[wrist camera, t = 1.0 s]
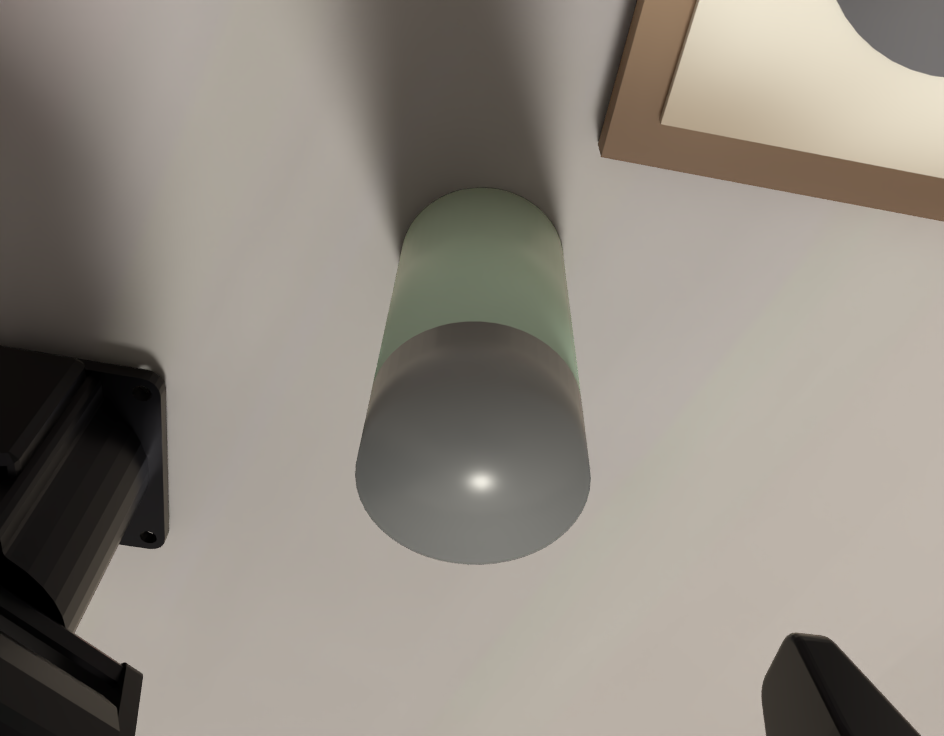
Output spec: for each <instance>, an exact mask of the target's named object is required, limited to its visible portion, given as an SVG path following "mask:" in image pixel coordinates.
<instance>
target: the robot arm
mask: <svg viewBox="0 0 944 736" xmlns="http://www.w3.org/2000/svg"><path fill="white" fill-rule="evenodd" d="M138 386H144V387H147V388H148V389H149V390H150V392H145V391H142V390H141V389H140V388H139V387H138ZM148 531H149V532H152V533H153V534H152V533H149V532H148ZM168 533H169V505H168V464H167V424H166V387H165V384H164V381H163V380H162V379H161V377H160V376H159V375H157V374H156V373H154V372H152V371H148V370H144V369H138V368H132V367H126V366H120V365H114V364H107V363H101V362H95V361H89V360H83V359H77V358H72V357H66V356H59V355H53V354H47V353H41V352H35V351H29V350H23V349H16V348H10V347H4V346H0V736H135V731H136V724H137V716H138V709H139V702H140V695H141V687H142V680H143V674H142V673H140V672H139V671H137V670H136V669H134V668H133V667H131V666H130V665H128V664H127V663H122V664H120V663H118V662H117V661H115V660H114V659H112V658H111V657H109V656H108V655H106V654H105V653H103V652H102V651H100V650H99V649H97V648H96V647H94V646H93V645H91V644H90V643H88V642H87V641H85V640H84V639H82V638H81V637H79V636H78V635H76V634H75V631H76V629H77V627H78V625H79V623H80V621H81V619H82V617H83V615H84V613H85V611H86V609H87V607H88V605H89V603H90V601H91V599H92V597H93V595H94V593H95V591H96V589H97V587H98V585H99V583H100V581H101V579H102V577H103V575H104V573H105V571H106V569H107V567H108V565H109V563H110V561H111V559H112V557H113V555H114V553H115V551H116V549H117V547H118V545H119V544H120V545H127V546H134V547H141V548H147V549H156V548H159V547H161V546H162V545H163V544H164V542H165V540H166V538H167V536H168ZM762 707H763V715H764V723H765V730H766V736H921V735H920V734H919V733H918V732H917V731H916V730H915V729H914V728H913V726H912V725H911V724H910V723H909V722H908V721H907V720H906V719H905V718H904V717H903V716H902V715H901V714H900V712H899V711H898V710H897V709H896V708H895V707H894V706H893V705H892V704H891V703H890V702H889V701H888V700H887V698H886V697H885V696H884V695H883V694H882V693H881V692H880V691H879V690H878V689H877V688H876V687H875V686H874V684H873V683H872V682H871V681H870V680H869V679H868V678H867V677H866V676H865V675H864V674H863V673H862V672H861V670H860V669H859V668H858V667H857V666H856V665H855V664H854V663H853V662H852V661H851V660H850V659H849V658H848V656H847V655H846V654H845V653H844V652H843V651H842V650H841V649H840V648H839V647H838V646H837V645H836V644H835V643H834V642H833V641H832V640H831V639H829V638H827V637H825V636H821V635H813V634H803V633H791V634H789V635H788V636H787V637H786V638H785V639H784V641H783V642H782V644H781V646H780V648H779V650H778V652H777V654H776V656H775V658H774V660H773V662H772V664H771V666H770V668H769V670H768V672H767V673H766V675H765V678H764V681H763V685H762Z"/></svg>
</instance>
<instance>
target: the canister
mask: <svg viewBox="0 0 944 736" xmlns="http://www.w3.org/2000/svg"><path fill="white" fill-rule="evenodd" d="M355 478H356V486H357V490H358V494H359V497H360V500H361V502H362V504H363V506H364V508H365V510H366V512H367V513H368V515H369V516H370V517H371V519H372V520H373V521H374V522H375V524H376V525H377V526H378V527H379V528H380V529H381V530H382V531H383V532H384V533H386V534H387V535H388V536H389V537H390V538H392V539H393V540H395V541H396V542H398V543H399V544H401V545H402V546H404V547H406V548H408V549H410V550H412V551H414V552H416V553H419V554H421V555H424V556H427V557H430V558H433V559H437V560H440V561H446V562H451V563H458V564H475V565H482V564H495V563H501V562H506V561H511V560H515V559H518V558H522V557H525V556H527V555H530V554H532V553H535V552H537V551H539V550H541V549H543V548H545V547H547V546H548V545H550V544H551V543H553V542H554V541H556V540H557V539H558V538H560V537H561V536H562V535H563V534H564V533H565V532H567V531H568V529H569V528H570V527H571V526H572V525H573V524H574V523H575V521H576V520H577V518H578V517H579V515H580V514H581V512H582V510H583V508H584V506H585V504H586V501H587V498H588V494H589V490H590V479H591V477H590V466H589V458H588V450H587V442H586V434H585V426H584V418H583V410H582V402H581V394H580V386H579V378H578V370H577V362H576V354H575V346H574V338H573V330H572V322H571V314H570V306H569V298H568V290H567V282H566V274H565V266H564V258H563V250H562V246H561V242H560V239H559V236H558V234H557V231H556V230H555V228H554V226H553V225H552V223H551V221H550V220H549V219H548V218H547V216H546V215H545V214H544V213H543V212H542V211H541V210H540V209H539V208H538V207H536V206H535V205H534V204H532V203H531V202H529V201H528V200H526V199H524V198H522V197H520V196H518V195H516V194H513V193H511V192H508V191H504V190H500V189H493V188H470V189H463V190H459V191H456V192H452V193H450V194H447V195H445V196H443V197H441V198H439V199H437V200H436V201H434V202H433V203H431V204H430V205H429V206H427V207H426V208H425V209H424V210H423V211H422V212H421V213H420V214H419V215H418V216H417V217H416V219H415V220H414V221H413V222H412V224H411V226H410V228H409V229H408V231H407V234H406V236H405V239H404V242H403V247H402V251H401V256H400V260H399V265H398V270H397V274H396V279H395V284H394V288H393V293H392V298H391V302H390V307H389V312H388V316H387V321H386V326H385V330H384V335H383V340H382V345H381V349H380V354H379V359H378V363H377V368H376V373H375V377H374V382H373V387H372V391H371V396H370V401H369V405H368V410H367V415H366V419H365V424H364V429H363V433H362V438H361V443H360V447H359V452H358V457H357V461H356V471H355Z"/></svg>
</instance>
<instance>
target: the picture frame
mask: <svg viewBox="0 0 944 736" xmlns="http://www.w3.org/2000/svg"><path fill="white" fill-rule="evenodd" d="M598 146H599V150H600V154H601V157H604V158H610V159H615V160H620V161H626V162H631V163H636V164H642V165H647V166H652V167H657V168H663V169H668V170H673V171H679V172H684V173H689V174H695V175H700V176H705V177H711V178H716V179H721V180H726V181H732V182H737V183H742V184H748V185H753V186H758V187H764V188H769V189H774V190H780V191H785V192H790V193H795V194H801V195H806V196H811V197H817V198H822V199H827V200H833V201H838V202H843V203H849V204H854V205H859V206H864V207H870V208H875V209H880V210H886V211H891V212H896V213H902V214H907V215H912V216H918V217H923V218H928V219H933V220H939V221H944V0H637V3H636V6H635V10H634V14H633V17H632V21H631V25H630V28H629V32H628V36H627V39H626V43H625V47H624V50H623V54H622V58H621V61H620V65H619V69H618V72H617V76H616V80H615V83H614V87H613V91H612V94H611V98H610V102H609V105H608V109H607V113H606V116H605V120H604V124H603V127H602V131H601V135H600V138H599V142H598Z"/></svg>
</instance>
